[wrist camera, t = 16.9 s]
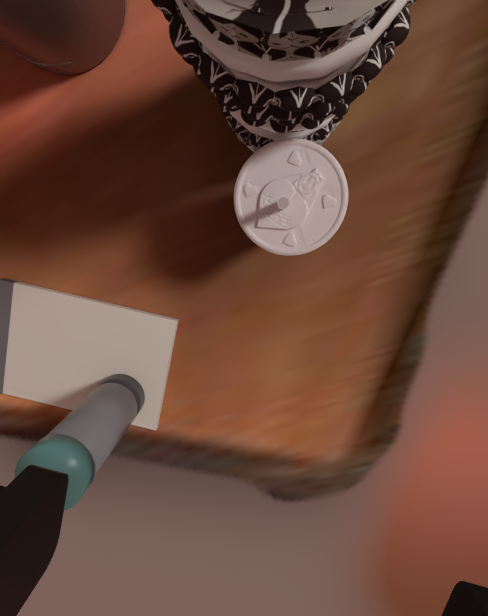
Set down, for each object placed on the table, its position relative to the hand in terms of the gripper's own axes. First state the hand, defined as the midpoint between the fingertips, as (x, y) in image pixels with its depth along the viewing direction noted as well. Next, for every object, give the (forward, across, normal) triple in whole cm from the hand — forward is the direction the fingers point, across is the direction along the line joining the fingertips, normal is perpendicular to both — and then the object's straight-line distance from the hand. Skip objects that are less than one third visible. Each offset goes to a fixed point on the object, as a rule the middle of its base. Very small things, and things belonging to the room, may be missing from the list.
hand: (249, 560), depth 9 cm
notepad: (+27, +14, +9) cm, 32 cm away
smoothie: (+27, +1, -8) cm, 28 cm away
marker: (+26, +10, +11) cm, 30 cm away
